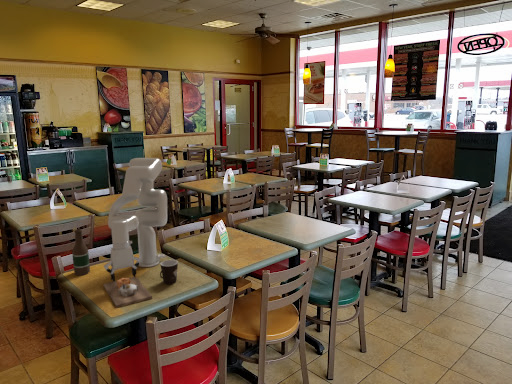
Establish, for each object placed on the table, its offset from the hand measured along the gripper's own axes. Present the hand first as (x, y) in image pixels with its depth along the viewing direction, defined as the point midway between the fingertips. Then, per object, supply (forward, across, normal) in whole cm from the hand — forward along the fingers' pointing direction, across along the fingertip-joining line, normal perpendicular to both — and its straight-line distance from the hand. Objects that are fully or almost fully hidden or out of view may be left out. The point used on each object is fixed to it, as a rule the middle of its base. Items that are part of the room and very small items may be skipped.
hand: (124, 278), depth 191 cm
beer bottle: (+6, +14, -32) cm, 35 cm away
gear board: (+5, 0, +5) cm, 7 cm away
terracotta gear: (+4, 0, 0) cm, 4 cm away
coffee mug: (+5, -20, +5) cm, 21 cm away
